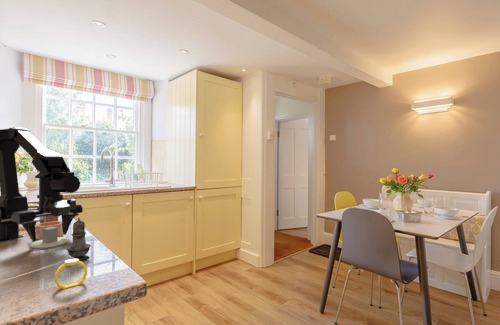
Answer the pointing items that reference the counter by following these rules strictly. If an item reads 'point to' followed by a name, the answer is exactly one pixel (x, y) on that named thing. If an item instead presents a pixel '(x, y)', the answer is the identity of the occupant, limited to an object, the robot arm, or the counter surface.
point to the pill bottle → (48, 218)
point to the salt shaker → (79, 242)
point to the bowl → (45, 225)
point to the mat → (47, 248)
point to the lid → (49, 239)
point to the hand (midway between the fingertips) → (50, 237)
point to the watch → (68, 263)
